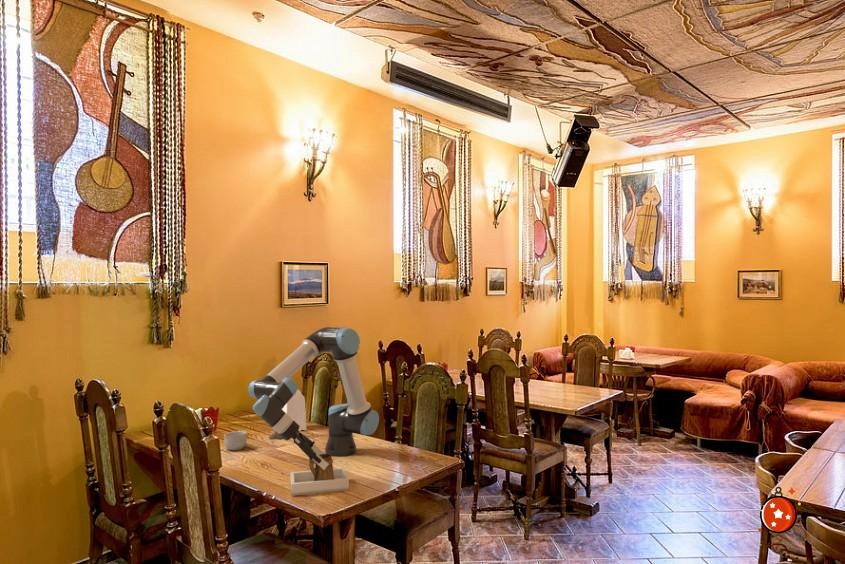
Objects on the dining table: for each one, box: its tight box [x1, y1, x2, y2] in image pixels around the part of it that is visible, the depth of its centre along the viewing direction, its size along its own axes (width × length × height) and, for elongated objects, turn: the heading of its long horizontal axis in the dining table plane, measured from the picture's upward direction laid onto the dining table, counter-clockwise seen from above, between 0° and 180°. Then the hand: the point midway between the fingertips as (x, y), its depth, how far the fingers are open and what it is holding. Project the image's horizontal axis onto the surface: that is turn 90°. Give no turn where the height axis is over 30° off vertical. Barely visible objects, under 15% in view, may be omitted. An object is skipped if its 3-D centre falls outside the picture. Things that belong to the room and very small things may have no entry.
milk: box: [282, 389, 307, 432], centre depth 321 cm, size 12×12×26 cm
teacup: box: [223, 430, 247, 452], centre depth 282 cm, size 14×11×8 cm
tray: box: [289, 467, 350, 497], centre depth 223 cm, size 22×15×4 cm
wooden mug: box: [308, 446, 335, 481], centre depth 223 cm, size 9×14×18 cm, turn 129°
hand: (324, 462), depth 224 cm, fingers open, 13 cm apart
